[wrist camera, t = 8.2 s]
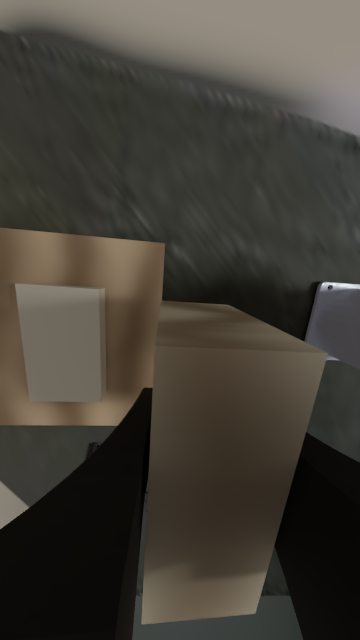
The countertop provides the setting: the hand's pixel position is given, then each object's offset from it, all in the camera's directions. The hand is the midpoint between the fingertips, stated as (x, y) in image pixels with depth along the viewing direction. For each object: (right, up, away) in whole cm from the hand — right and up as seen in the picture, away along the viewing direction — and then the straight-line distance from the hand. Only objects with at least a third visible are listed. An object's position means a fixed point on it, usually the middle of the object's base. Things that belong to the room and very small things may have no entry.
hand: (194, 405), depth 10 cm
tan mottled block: (0, +1, +2) cm, 2 cm away
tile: (-7, +2, +7) cm, 10 cm away
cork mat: (-11, +3, +8) cm, 14 cm away
